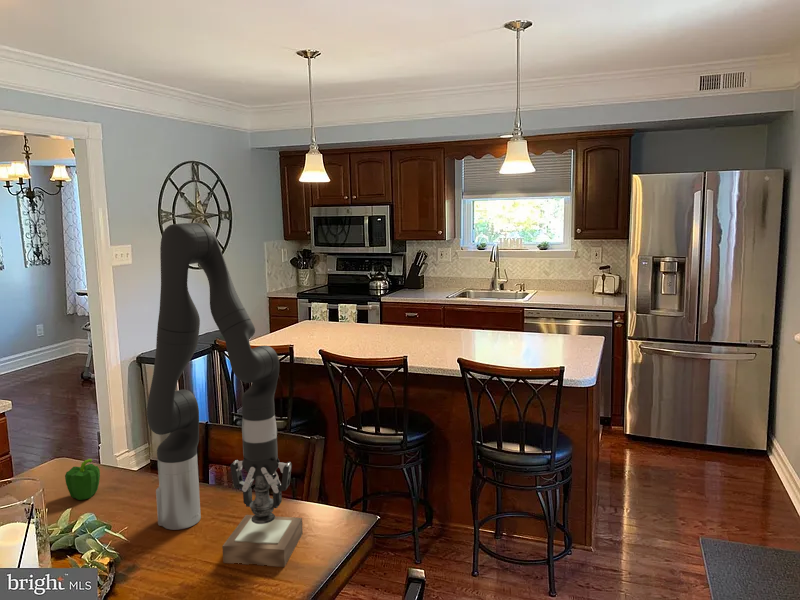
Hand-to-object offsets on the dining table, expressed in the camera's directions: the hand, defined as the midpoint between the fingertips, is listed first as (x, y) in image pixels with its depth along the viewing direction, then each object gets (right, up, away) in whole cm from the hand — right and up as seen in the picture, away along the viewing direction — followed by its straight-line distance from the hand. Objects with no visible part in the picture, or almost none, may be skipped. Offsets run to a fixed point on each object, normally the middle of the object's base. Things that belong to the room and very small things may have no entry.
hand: (262, 505), depth 139 cm
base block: (0, -10, +2) cm, 10 cm away
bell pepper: (-55, -7, +28) cm, 62 cm away
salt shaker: (0, -3, 0) cm, 3 cm away
